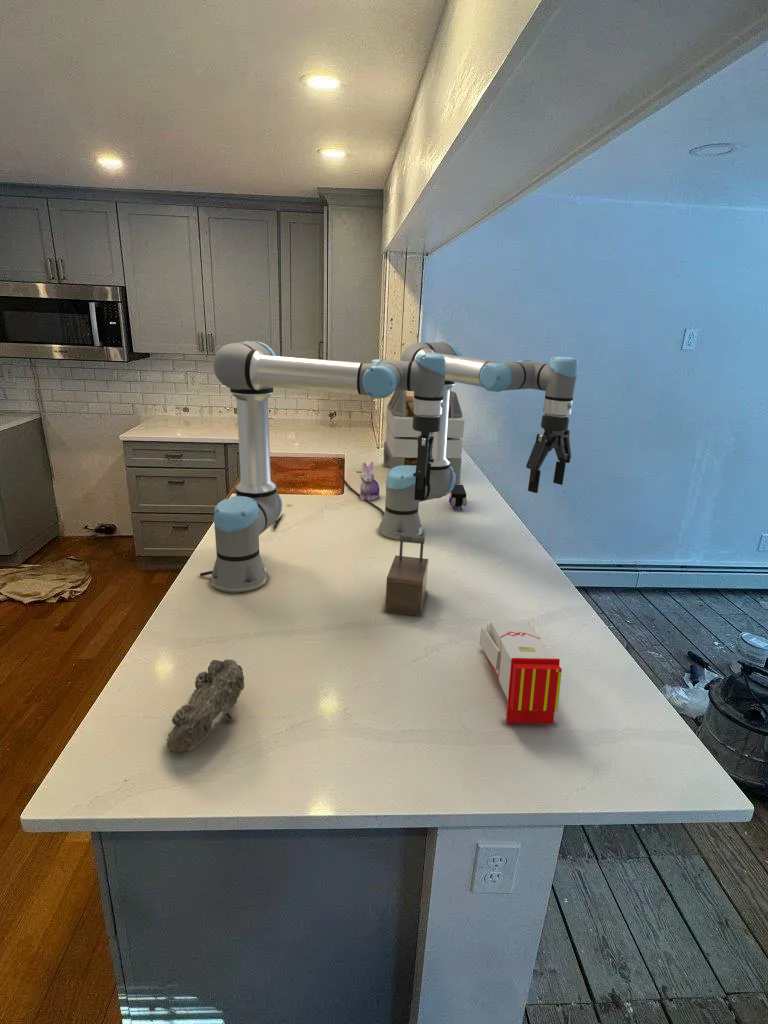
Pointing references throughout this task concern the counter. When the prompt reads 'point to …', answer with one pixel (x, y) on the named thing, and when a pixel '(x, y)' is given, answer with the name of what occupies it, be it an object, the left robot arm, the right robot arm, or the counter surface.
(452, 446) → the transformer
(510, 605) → the counter surface
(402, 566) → the lid
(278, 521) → the feather
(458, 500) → the figurine character
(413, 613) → the chest
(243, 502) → the left robot arm
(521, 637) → the toy
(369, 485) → the figurine
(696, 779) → the counter surface
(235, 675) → the fossil
